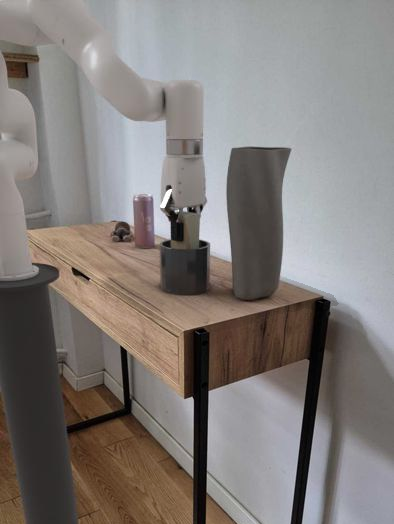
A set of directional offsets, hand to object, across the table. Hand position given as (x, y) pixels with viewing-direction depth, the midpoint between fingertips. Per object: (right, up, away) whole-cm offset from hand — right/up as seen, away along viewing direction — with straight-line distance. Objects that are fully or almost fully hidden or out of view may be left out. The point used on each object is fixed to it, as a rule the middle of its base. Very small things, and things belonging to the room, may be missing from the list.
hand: (184, 237), depth 106 cm
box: (0, -5, +3) cm, 6 cm away
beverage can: (-13, +7, +41) cm, 43 cm away
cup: (0, -10, +5) cm, 11 cm away
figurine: (-21, +11, +50) cm, 56 cm away
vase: (+15, -13, 0) cm, 20 cm away
